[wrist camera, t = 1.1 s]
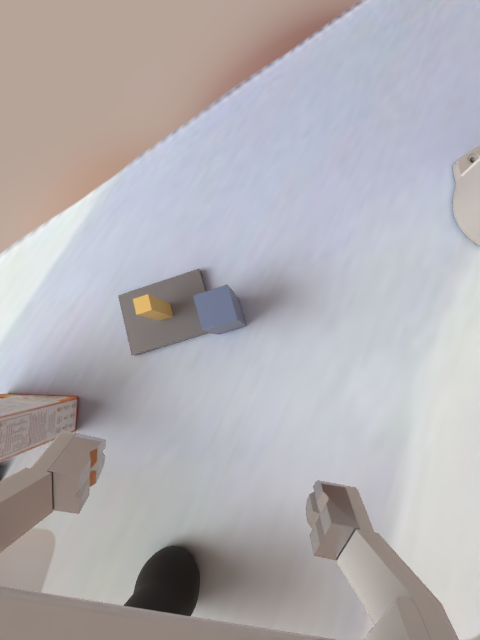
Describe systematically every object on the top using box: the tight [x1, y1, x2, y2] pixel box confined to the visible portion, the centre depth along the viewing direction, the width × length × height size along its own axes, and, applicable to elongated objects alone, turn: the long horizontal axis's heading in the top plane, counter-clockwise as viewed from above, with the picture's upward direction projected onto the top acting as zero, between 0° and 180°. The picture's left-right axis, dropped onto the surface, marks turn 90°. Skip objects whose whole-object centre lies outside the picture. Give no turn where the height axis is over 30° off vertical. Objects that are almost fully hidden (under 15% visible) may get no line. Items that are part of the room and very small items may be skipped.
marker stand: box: [119, 269, 210, 355], centre depth 41 cm, size 14×10×8 cm
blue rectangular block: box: [193, 285, 246, 334], centre depth 40 cm, size 5×5×9 cm
